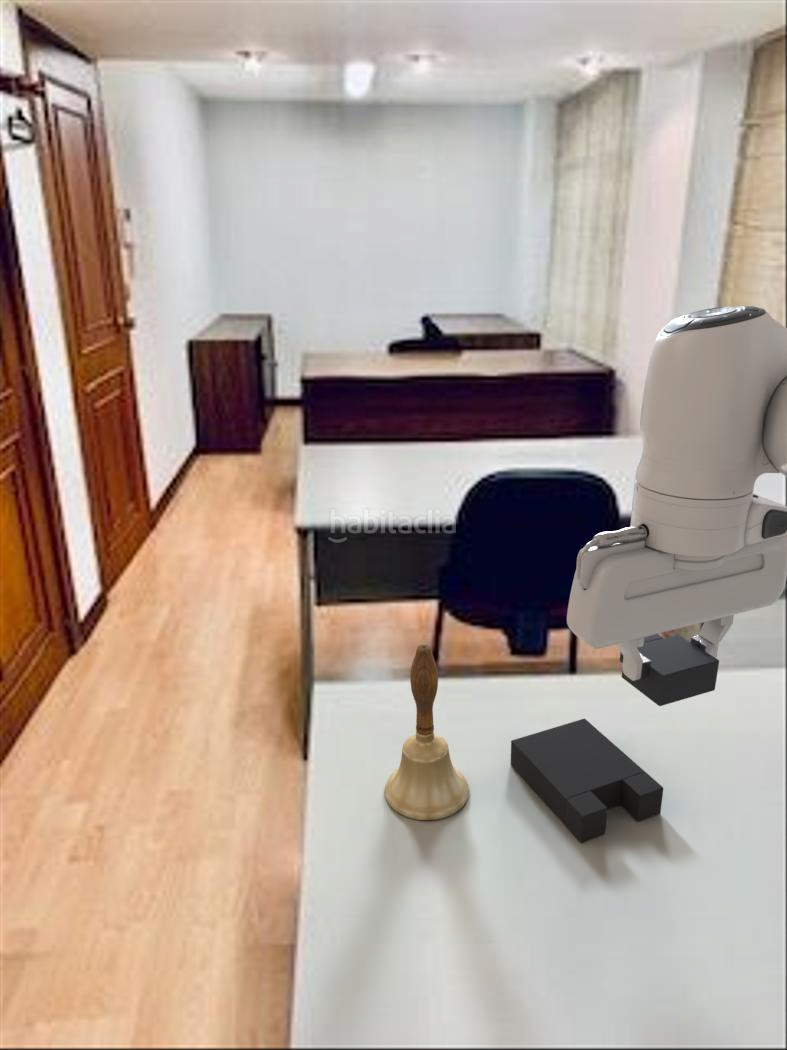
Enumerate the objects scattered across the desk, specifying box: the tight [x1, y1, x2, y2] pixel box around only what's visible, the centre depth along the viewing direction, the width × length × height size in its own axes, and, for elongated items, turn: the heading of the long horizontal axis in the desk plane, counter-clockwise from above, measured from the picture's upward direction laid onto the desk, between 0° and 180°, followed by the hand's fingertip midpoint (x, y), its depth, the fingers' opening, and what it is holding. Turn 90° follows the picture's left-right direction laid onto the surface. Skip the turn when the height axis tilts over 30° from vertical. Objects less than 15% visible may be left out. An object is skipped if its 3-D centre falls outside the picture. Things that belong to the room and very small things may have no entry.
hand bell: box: [384, 643, 470, 821], centre depth 72 cm, size 8×8×16 cm
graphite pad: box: [619, 634, 720, 707], centre depth 67 cm, size 6×7×3 cm
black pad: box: [510, 718, 664, 844], centre depth 74 cm, size 9×12×3 cm
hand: (670, 666), depth 66 cm, fingers closed on graphite pad, 6 cm apart
